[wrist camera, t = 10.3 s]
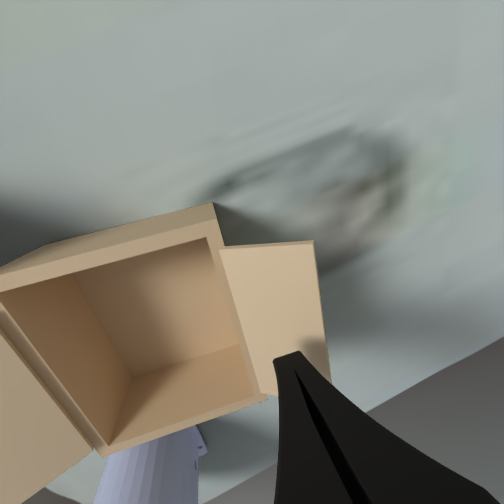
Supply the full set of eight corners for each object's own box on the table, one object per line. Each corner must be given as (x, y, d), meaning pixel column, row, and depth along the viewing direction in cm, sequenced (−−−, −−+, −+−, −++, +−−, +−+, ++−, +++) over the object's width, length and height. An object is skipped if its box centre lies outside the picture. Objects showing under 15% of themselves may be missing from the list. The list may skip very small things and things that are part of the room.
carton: (252, 343, 23) (267, 399, 17) (127, 383, 22) (101, 457, 16) (212, 202, 18) (216, 218, 12) (45, 244, 16) (-35, 284, 11)
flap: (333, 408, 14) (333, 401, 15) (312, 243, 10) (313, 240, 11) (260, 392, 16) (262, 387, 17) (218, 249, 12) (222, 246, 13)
